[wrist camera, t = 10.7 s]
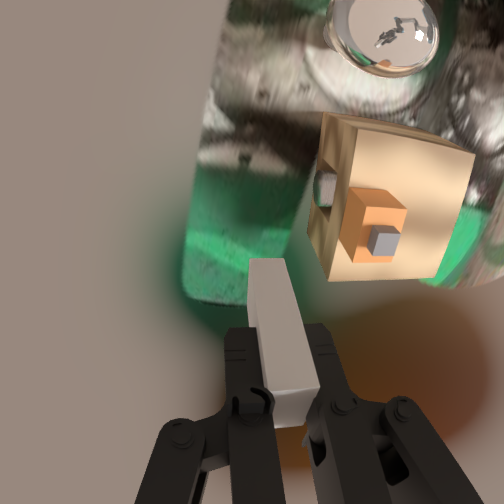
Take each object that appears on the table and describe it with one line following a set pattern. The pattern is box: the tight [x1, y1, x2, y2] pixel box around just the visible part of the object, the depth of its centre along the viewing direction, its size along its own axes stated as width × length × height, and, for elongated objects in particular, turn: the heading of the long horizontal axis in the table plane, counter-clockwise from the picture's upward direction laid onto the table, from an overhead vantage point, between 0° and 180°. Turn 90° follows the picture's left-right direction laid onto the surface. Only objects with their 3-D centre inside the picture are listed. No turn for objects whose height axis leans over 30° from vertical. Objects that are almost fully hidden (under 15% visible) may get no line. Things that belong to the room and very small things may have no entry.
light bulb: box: [323, 0, 439, 79], centre depth 15 cm, size 7×7×12 cm
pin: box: [313, 170, 338, 207], centre depth 25 cm, size 5×13×5 cm, turn 87°
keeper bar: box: [339, 187, 408, 263], centre depth 19 cm, size 4×3×4 cm
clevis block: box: [307, 112, 475, 282], centre depth 24 cm, size 12×11×8 cm
